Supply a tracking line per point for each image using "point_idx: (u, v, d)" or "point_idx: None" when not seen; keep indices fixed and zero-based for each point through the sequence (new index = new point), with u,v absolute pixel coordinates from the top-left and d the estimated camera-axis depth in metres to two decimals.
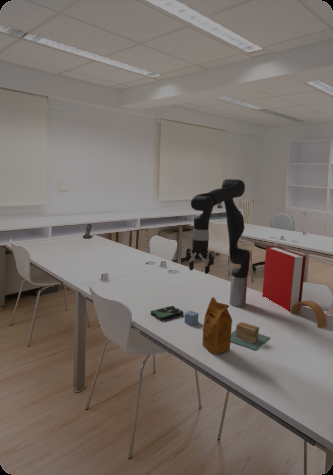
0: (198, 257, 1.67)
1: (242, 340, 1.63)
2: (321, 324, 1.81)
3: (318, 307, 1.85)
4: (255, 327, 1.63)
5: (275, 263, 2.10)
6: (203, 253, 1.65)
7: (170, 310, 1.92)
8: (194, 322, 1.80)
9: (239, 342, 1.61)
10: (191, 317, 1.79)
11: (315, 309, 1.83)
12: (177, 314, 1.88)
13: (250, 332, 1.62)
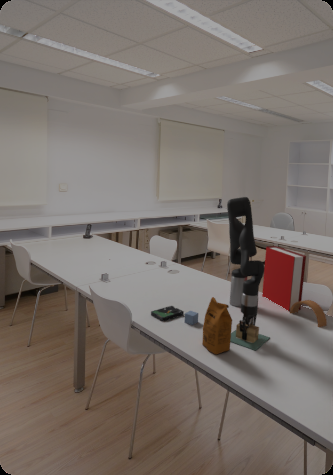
0: None
1: (242, 340, 1.63)
2: (321, 323, 1.82)
3: (318, 307, 1.86)
4: (255, 327, 1.63)
5: (275, 263, 2.10)
6: (253, 315, 1.65)
7: (170, 310, 1.92)
8: (194, 322, 1.80)
9: (239, 342, 1.61)
10: (191, 317, 1.79)
11: (315, 309, 1.84)
12: (177, 314, 1.89)
13: (250, 332, 1.62)
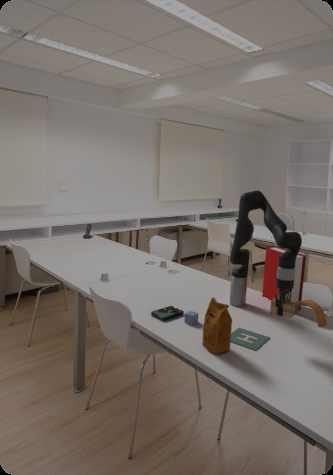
0: None
1: (242, 340, 1.63)
2: (321, 323, 1.82)
3: (318, 306, 1.86)
4: (291, 303, 1.56)
5: (275, 263, 2.10)
6: (288, 290, 1.57)
7: (170, 310, 1.92)
8: (194, 322, 1.80)
9: (239, 342, 1.61)
10: (191, 317, 1.79)
11: (315, 308, 1.84)
12: (178, 314, 1.89)
13: (286, 307, 1.54)
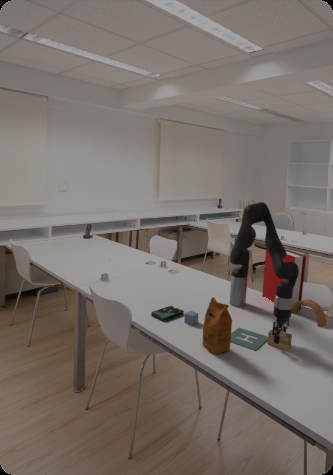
0: None
1: (242, 340, 1.63)
2: (321, 323, 1.83)
3: (318, 306, 1.87)
4: (288, 334, 1.58)
5: None
6: (286, 318, 1.60)
7: (170, 310, 1.92)
8: (194, 322, 1.80)
9: (239, 342, 1.61)
10: (191, 317, 1.79)
11: (315, 308, 1.85)
12: (178, 314, 1.89)
13: (283, 339, 1.56)
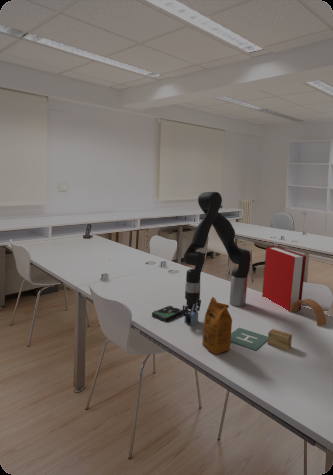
0: (193, 307, 1.80)
1: (242, 340, 1.63)
2: (320, 322, 1.83)
3: (317, 305, 1.87)
4: (288, 334, 1.58)
5: (275, 263, 2.10)
6: (196, 301, 1.82)
7: (170, 310, 1.92)
8: (194, 322, 1.80)
9: (239, 342, 1.61)
10: (191, 317, 1.79)
11: (314, 307, 1.86)
12: (178, 313, 1.89)
13: (283, 339, 1.56)
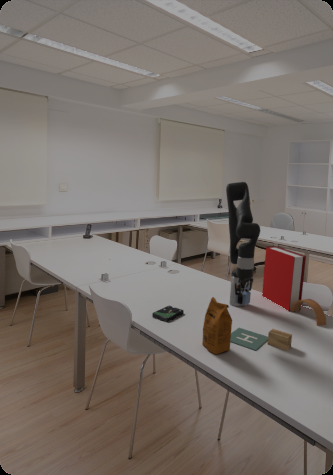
0: (246, 285, 1.62)
1: (242, 340, 1.63)
2: (320, 322, 1.83)
3: (318, 305, 1.87)
4: (288, 334, 1.58)
5: (275, 263, 2.11)
6: (249, 279, 1.64)
7: (170, 310, 1.92)
8: (246, 302, 1.62)
9: (239, 342, 1.61)
10: (244, 296, 1.61)
11: (314, 307, 1.86)
12: (179, 313, 1.90)
13: (283, 339, 1.56)
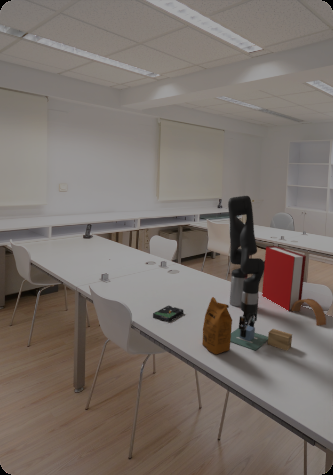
0: (250, 319, 1.64)
1: (242, 340, 1.63)
2: (320, 322, 1.84)
3: (318, 305, 1.88)
4: (288, 334, 1.58)
5: (275, 262, 2.11)
6: (253, 313, 1.65)
7: (170, 310, 1.92)
8: (251, 338, 1.64)
9: (239, 342, 1.61)
10: (248, 332, 1.62)
11: (314, 307, 1.86)
12: (179, 313, 1.90)
13: (284, 339, 1.56)
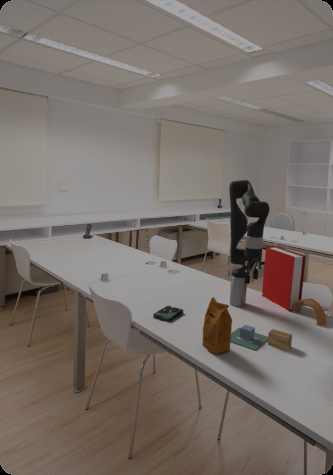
0: (254, 266, 1.59)
1: (242, 340, 1.63)
2: (320, 322, 1.84)
3: (318, 305, 1.88)
4: (288, 334, 1.58)
5: (275, 262, 2.11)
6: (257, 260, 1.61)
7: (170, 310, 1.92)
8: (251, 338, 1.64)
9: (239, 342, 1.61)
10: (248, 332, 1.62)
11: (315, 307, 1.86)
12: (179, 312, 1.90)
13: (284, 339, 1.56)
